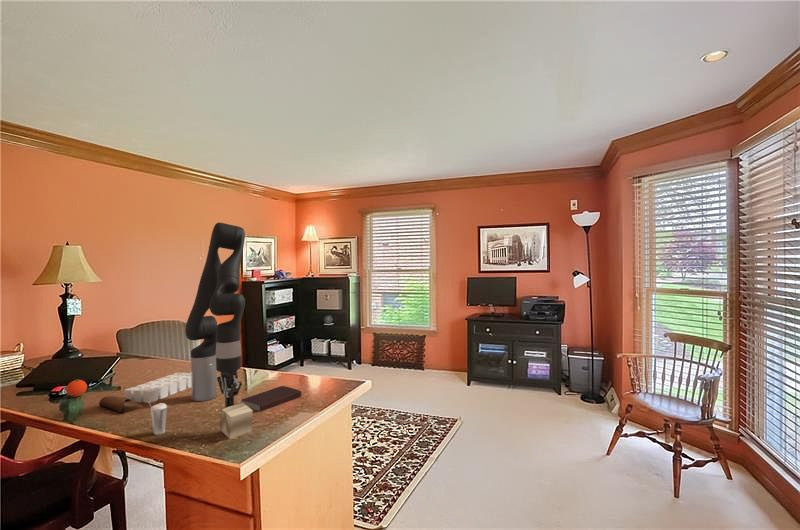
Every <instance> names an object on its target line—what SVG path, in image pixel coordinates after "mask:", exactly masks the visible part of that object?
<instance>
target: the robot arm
mask: <svg viewBox="0 0 800 530" xmlns="http://www.w3.org/2000/svg"><path fill="white" fill-rule="evenodd" d="M245 234H246V233H245V229H244V228H243V227H241V226H238V225H234V224H228V223H224V222H217V223H215V224H214V226H213V228H212V232H211V235H210V241H209V245H208V251H207V255H206V260H205V264H204V266H203V270H202V273H201V276H200V280H199V284H198V288H197V291H196V294H195V295H196V296H195V299H194V303H193V305H192V308H191V310H190V313H189V315H188V317H187V320H186V322H185V324H186V325H185V329H184V330H185V331H184V333H185V336H186V338H187V340H189V341H200V340H203V341H202V342H201V343H200V344H199V345H197V346H196V347H194V348H192V349H191V350H190V372H191V387H190V388H191V401H193V402H205V401H210V400H213V399H215V398H217V396H218V387H217V386H219V389H220V392H221V395H222V394H223V397H224V400H225V401H224V406H225V407H228V406H232V405H235V397H236V396H238V394H239V393H240V390H241V388H242V385H243V383H242V381H239V380H238V378H239V375H238V370H240V369H241V368H242V344H241V322H242V317H243V315H244V314H243V313H244V310H245V307H246V299H245V296H244V295H243V294H242V293H237V292H238V291H239V289H240V282H241V281H240V280H241V279H240V277H241V276H240V270H241V264H242V259H243V252H244V247H245V246H244V245H245V239H246V235H245ZM219 248H220V249H226V250H230V251H231V250H232V251H233V252H232V253H230V254H231V255H230V256H228V257H227V258H226V259H225V260H224V261H223V262H221V260H220V259H221V258H220V255H219ZM208 311H210V312H211V314H212V315H206V313H207V312H208ZM213 315H214V316H217V317H221V316H233V318H232V319H230V320H228V321H224V322H221V323H219V324H218V322H217V319H216V317H214V316H213ZM217 372H219V373H220V376H217ZM217 383H218V384H217ZM225 407H224V408H225Z"/></svg>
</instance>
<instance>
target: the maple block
mask: <svg viewBox="0 0 800 530" xmlns="http://www.w3.org/2000/svg"><path fill="white" fill-rule="evenodd" d="M253 412H254V409H251V408H249V407H248V406H246V405H245V404H244V403H243V402H242V401H241V402H239V403H236V404H235V403H234V405H232V406H228V407H222V408H220V421H219V422H220V425H219V429H220V431H221V432H222V434H224V435H225V436H226V437H227V438H228V439H229V440H231V439H234V438H237V437H240V436H242V435H245V434H248V433H251V432H253V431H252V429H253V414H254V413H253Z"/></svg>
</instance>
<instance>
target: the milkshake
mask: <svg viewBox="0 0 800 530" xmlns="http://www.w3.org/2000/svg"><path fill="white" fill-rule="evenodd" d="M148 404H149V407H150V416H151V424H152V425H151V426H152V433H153V435H154V436H157V435H163V434H164V433H165V432H166V424H167V414H168V413H167V412H168V405H167V404H166V403H164V402H160V403H157V404H155V405H152V404H151V403H149V402H148Z"/></svg>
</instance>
